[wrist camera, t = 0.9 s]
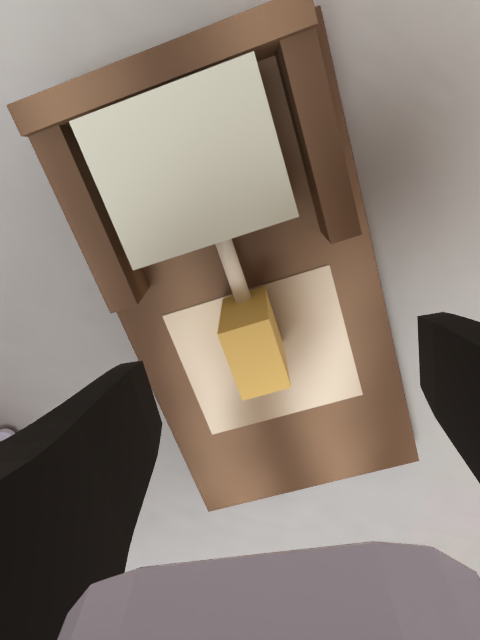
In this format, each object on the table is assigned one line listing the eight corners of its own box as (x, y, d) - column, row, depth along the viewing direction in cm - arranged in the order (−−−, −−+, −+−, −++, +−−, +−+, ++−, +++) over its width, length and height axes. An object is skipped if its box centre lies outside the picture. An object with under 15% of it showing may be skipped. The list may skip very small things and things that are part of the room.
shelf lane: (210, 492, 26) (203, 557, 22) (43, 120, 19) (-15, 113, 15) (409, 443, 25) (442, 503, 21) (314, 16, 17) (335, -25, 13)
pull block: (203, 366, 21) (194, 413, 17) (107, 126, 17) (68, 121, 14) (324, 332, 20) (341, 373, 17) (252, 72, 16) (254, 50, 13)
